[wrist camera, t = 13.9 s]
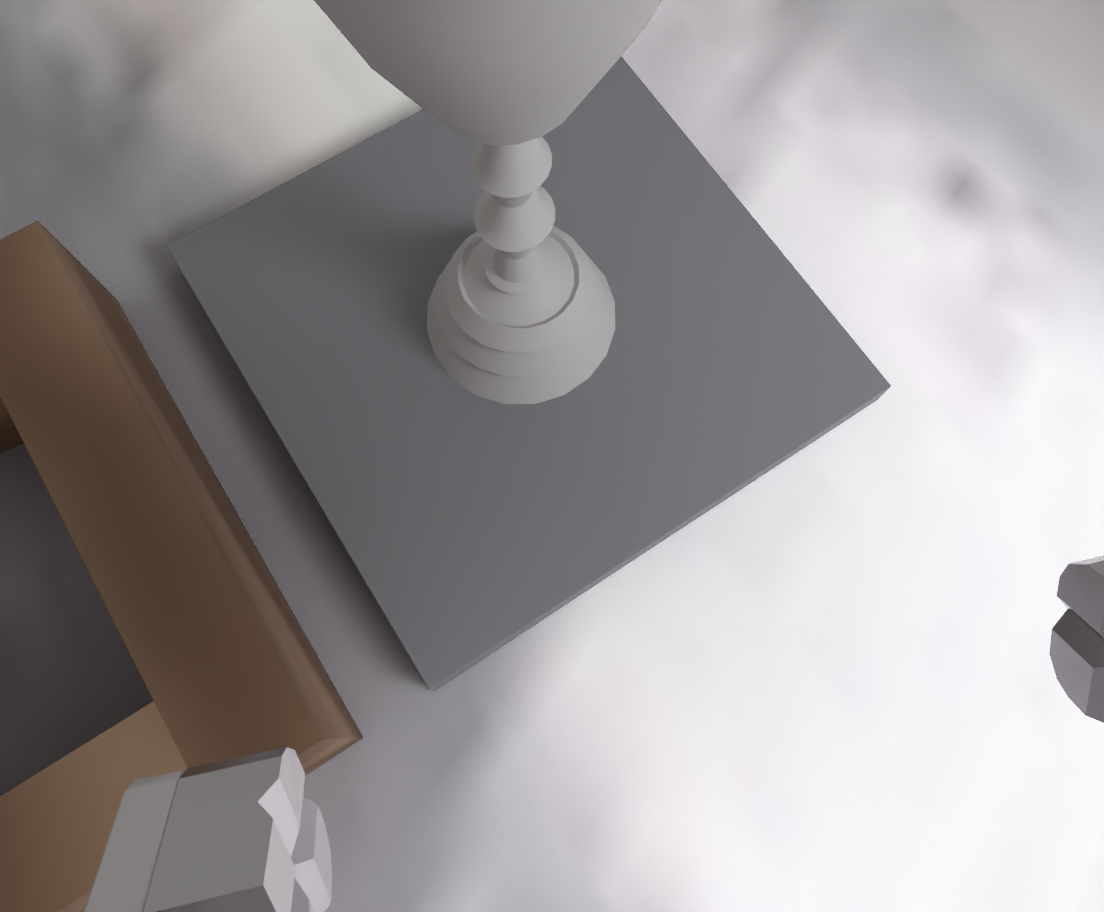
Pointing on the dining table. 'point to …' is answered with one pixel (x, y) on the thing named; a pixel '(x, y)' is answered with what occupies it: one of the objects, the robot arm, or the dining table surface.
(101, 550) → the walnut holder
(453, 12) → the chalice
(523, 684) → the dining table surface
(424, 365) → the grey mat
